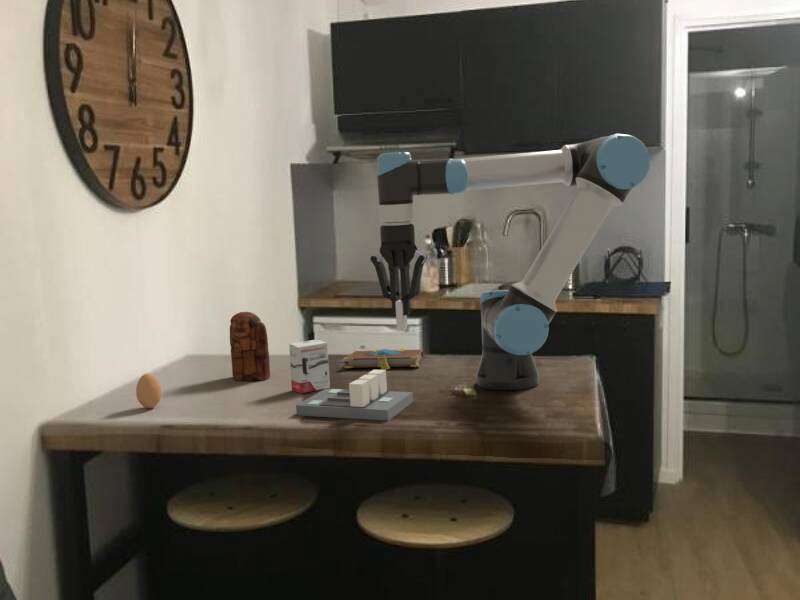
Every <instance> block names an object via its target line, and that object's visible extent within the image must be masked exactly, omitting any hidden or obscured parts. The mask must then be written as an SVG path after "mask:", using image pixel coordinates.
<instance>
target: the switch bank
mask: <svg viewBox="0 0 800 600" xmlns="http://www.w3.org/2000/svg"><path fill="white" fill-rule="evenodd" d="M378 395H379V397H377V398H376V399H370V403H368V404H367V405H365V406H364V407H354V406H350V391H349V388H348V389H346V388H342V389H341V388H326V389H321V390H320V391H319V392H317V393H315V394H314V395H312V396H310V397H309V398H307V399H305V400H303V401H301V402H298V403H297V404H296V405H295V411H296V416H302V417H307V416H308V417H321V418H322V417H323V418H337V419H354V420H355V419H356V420H371V421H384V422H385V421H390V420H391V419H392V418H394V417H396V416H397V415H398V414H399V413H400V412H402V411H403V410H404V409H406V408H407V407H409V406H410V405H411V404H413V403H414V398H413V397H414V396H413V395H414V393H413V392H412V391H390V390H387V392H385V393H384V394H381V393H378Z"/></svg>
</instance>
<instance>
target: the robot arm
mask: <svg viewBox="0 0 800 600" xmlns="http://www.w3.org/2000/svg"><path fill="white" fill-rule="evenodd" d="M650 157H651V156H650V154H649V151H648V149H647V146H646V145H645V144H644V142H643V141H641V140H640V139H639V138H637V137H636V136H634V135H630V134H624V133H615V134H611V135H608V136H601V137H598V138H595V139H591V140H588V141H584V142H579V143H572V144H564V145H563V146H562V147H561V148H560V149H557V150H556V149H555V150H545V151H543V150H542V151H531V152H521V153H520V152H519V153H513V154H511V153H508V154H499V155H486V156H476V157H475V156H474V157H466V158H465V157H463V158H445V159H444V158H442V159H441V158H440V159H429V160H413V158H412V155H411V153H410V152H409V151H400V152H399V151H398V152H396V151H395V152H393V151H392V152H384V153H383V152H381V154H379V155H378V156H377V159H376V164H377V165H376V168H377V169H376V177H377V180H376V181H377V192H378V193H377V194H378V211H379V212H378V213H379V214H378V215H379V222H380V224H382V225H380V226H379V231H380V242H381V243H380V247H379V251H378V252H377V253H376V254H375V255H372V256H370V258H369V259H370V261H371V263H372V264H373V266H374V268H375V271H376V275H377V276H376V277H377V279H378V282H379V286H380V290H381V294H382V297H383V299H388V300H390V302H391V313H392V315H393V316H395V317H396V321H395V322H396V331H399V332H401V331H402V332H403V331H406V330H408V316H409V315H410V314H411V300H412V299H415V298H416V297H418V295H419V291H420V285H421V281H422V274H423V270H424V269H423V268H424V264H425V262H426V261H427V260H428V255H427V254H426V253H425V254H423V253H422V252H420V251H419V250H418V247H417V246H416V243H415V242H416V240H415V239H416V237H415V235H416V233H415V225H414V224H413V223H412V222H413V221H415V219H414V200H413V198H414V196H425V195H426V196H427V195H428V196H429V195H454V194H463V193H465V192H466V191H474V190H475V191H477V190H488V189H489V190H490V189H497V188H499V189H500V188H509V187H510V188H511V187H512V188H513V187H524V186H534V185H535V186H536V185H545V184H559V183H562V184H563V185H564V186H566V187H572V186H573V187H574V186H576V187H577V188H576V191H575V193H574V194H573V195H572V197H571V199H570V201H569V202H568V204H567V206H566V207H565V209H564V211H563V213H562V214H561V216H560V217H559V219H558V220H557V222H556V224H555V226H553V229H552V230H551V232H550V234H549V236H548V237H547V239H546V240H545V242H544V244H543V246H542V247H541V249H540V250H539V252H538V254H537V255H536V257H535V259H534V260H533V262H532V264H531V265H530V267H529V269H528V270H527V272H526V274H525V275H524V276H523V278H522V280H521V281H519V282H516V283H512V284H511V286H510V287H509V289H498V290H486V291H483V292H481V294H480V299H479V300H480V302H479V307H480V319H481V325H480V326H481V341H482V342H481V344H482V345H481V346H482V347H481V348H482V354H481V357H480V360H479V364H478V368H477V372H476V377H475V379H476V386H478V387H480V388H481V389H482V388H483V389H487V390H491V391H492V390H493V391H515V390H516V391H518V390H525V389H529V388H533V387H535V386H537V385H539V383H540V374H539V371H538V368H537V365H536V362H535V359H534V357H533V353H535V352H537V351H538V350H539V349H541V348H542V346H544V344H545V343H546V341H547V338H548V335H549V332H550V331H549V329H550V328H549V327H550V326H549V325H550V323H551V322H552V320H553V318H554V317H555V315H556V313H557V311H558V308H557V306H556V300H557V298H558V297H559V296H560V293H561V291H562V290H563V288H564V287H565V285H566V284H567V282H568V280H569V279H570V277H571V275H572V274H573V272H574V271H575V269H576V267H577V265H578V264H579V263H580V260H581V259H582V257H583V256H584V254H585V253H586V251H587V249H588V247H589V246H590V245H591V242H593V239H594V238H595V236H596V234H597V232H598V231H599V229H600V228H601V226H602V225H603V223H604V221H605V219H606V218H607V216H608V215H609V213H610V212H611V210H612V209H613V208H615V207H620V206H622V205H623V203H624V202H625V200H626V199H627V196H628V195H629V193H630V192H631V190H632V189H634V188H636V187H637V186H638V185H640V184H641V183H642V182H643V181H644V180H645V178H647V176H648V174H649V170H650V168H651V167H650V166H651V158H650ZM413 259H414V262H415V263H414V267H413V271H412V278H411V277H410V276H411V275H410V268H411V267H410V266H411V265H410V263H411V262H412V260H413ZM384 260H385V262H386V263H387V266H388V272H389V278H388V275H387V270H386V267H385V264H384ZM399 273H400V277H399ZM410 278H411V279H410ZM410 282H411V283H410ZM400 294H401V295H400Z"/></svg>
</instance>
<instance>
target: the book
mask: <svg viewBox="0 0 800 600" xmlns="http://www.w3.org/2000/svg"><path fill="white" fill-rule="evenodd" d="M342 359H343V360H342V361H340V362H337V363H339V364H343V363H347V364H345V365H344V367H343V368H344V369H352V368H380V370H386V371H387V370H390V369H391V368H394V367H395V368H401V367H402V368H403V367H405V368H406V367H407V368H408V367H411V368H417V367H420V363H421V362H422V361H423V359H424V349H404V348H399V349H395V350H394V349H389V348H387V349H386V348H383V349H379V348H375V349H373V350H354V351H353V352H352V353H350V354H349V355H348V356H344V357H343V358H342Z"/></svg>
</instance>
